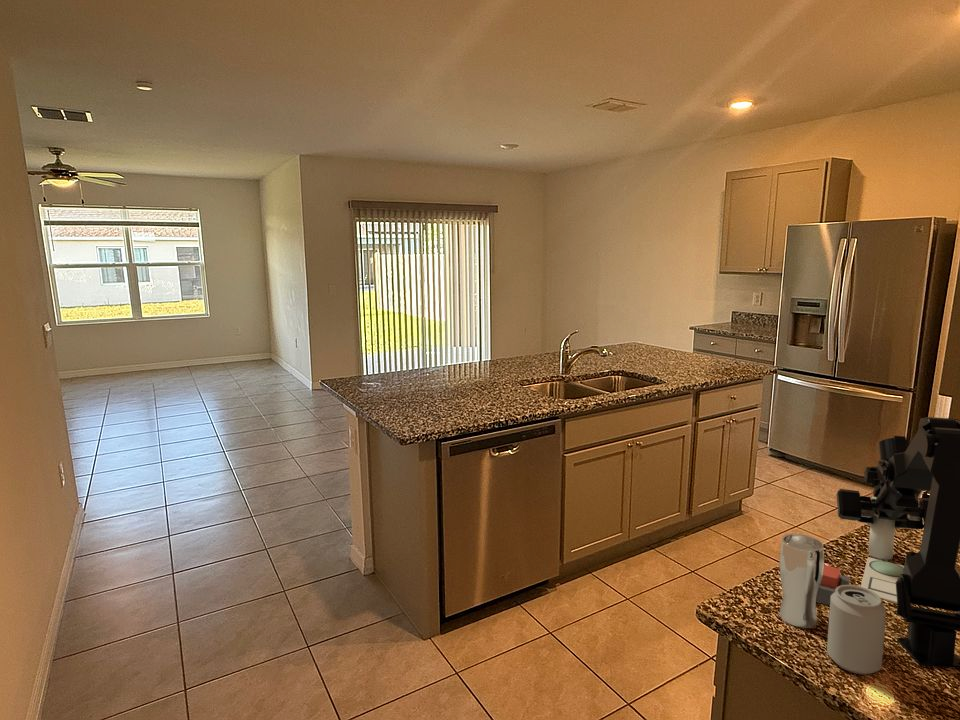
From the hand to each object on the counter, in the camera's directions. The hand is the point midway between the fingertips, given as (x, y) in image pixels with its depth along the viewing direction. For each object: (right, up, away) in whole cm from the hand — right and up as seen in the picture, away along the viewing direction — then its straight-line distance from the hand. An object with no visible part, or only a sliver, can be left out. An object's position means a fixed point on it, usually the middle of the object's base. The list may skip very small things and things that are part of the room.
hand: (881, 524), depth 125 cm
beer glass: (-31, -11, -21) cm, 39 cm away
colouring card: (-6, -9, -10) cm, 15 cm away
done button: (-21, -8, -15) cm, 27 cm away
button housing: (-21, -10, -14) cm, 27 cm away
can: (-28, -13, -33) cm, 45 cm away
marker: (0, -7, 0) cm, 7 cm away
